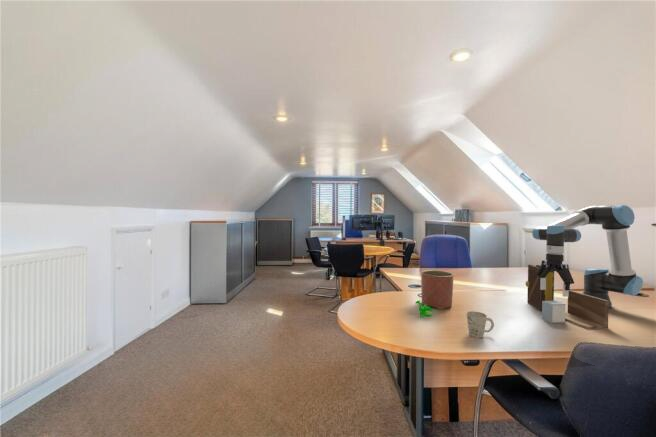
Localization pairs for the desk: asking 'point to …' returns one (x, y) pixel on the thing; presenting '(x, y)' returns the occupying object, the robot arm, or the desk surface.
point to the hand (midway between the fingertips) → (553, 292)
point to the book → (534, 287)
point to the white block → (553, 311)
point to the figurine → (424, 310)
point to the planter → (437, 288)
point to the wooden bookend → (587, 311)
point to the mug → (478, 324)
